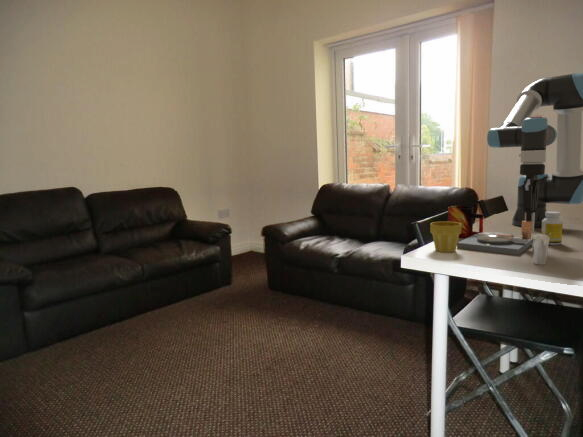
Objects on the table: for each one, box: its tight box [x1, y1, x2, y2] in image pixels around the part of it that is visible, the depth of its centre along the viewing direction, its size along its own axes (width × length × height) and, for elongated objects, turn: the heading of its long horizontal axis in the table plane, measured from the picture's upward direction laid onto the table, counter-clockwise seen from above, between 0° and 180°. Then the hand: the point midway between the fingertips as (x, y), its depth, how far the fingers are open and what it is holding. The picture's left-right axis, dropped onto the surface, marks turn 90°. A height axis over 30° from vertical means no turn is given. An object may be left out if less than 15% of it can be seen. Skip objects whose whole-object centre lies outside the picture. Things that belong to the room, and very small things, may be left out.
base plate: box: [456, 234, 533, 256], centre depth 154 cm, size 20×20×2 cm
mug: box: [447, 205, 484, 239], centre depth 173 cm, size 10×14×12 cm
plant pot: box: [429, 220, 462, 254], centre depth 149 cm, size 10×10×10 cm
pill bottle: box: [540, 211, 563, 246], centre depth 155 cm, size 6×6×12 cm
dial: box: [477, 221, 532, 244], centre depth 151 cm, size 18×12×8 cm
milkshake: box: [531, 233, 551, 266], centre depth 128 cm, size 4×5×10 cm
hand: (529, 230), depth 149 cm, fingers closed
